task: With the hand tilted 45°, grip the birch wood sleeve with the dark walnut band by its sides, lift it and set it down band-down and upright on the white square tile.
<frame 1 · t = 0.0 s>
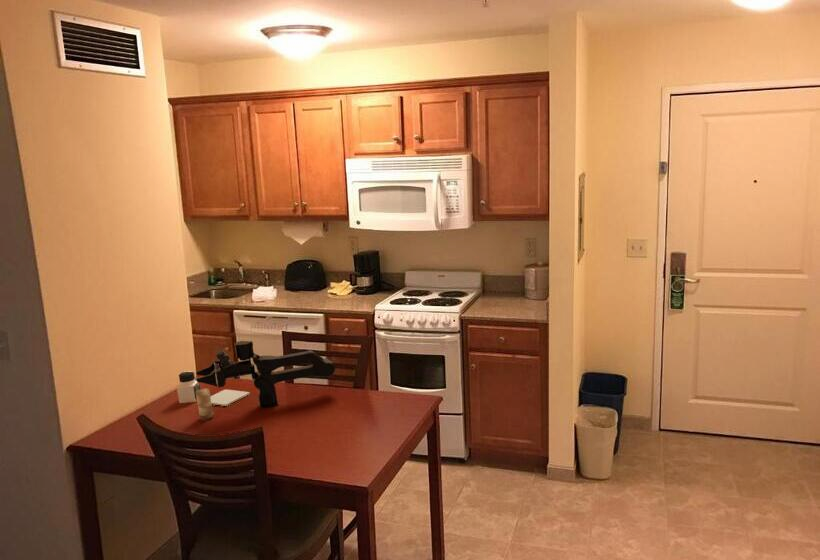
hand: (196, 376, 254), 17 cm above the table, tool horizontal, fingers open, 9 cm apart
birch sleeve: (206, 417, 256), on the table
white square tile: (225, 399, 275), on the table
medicine bottle: (190, 400, 279), on the table
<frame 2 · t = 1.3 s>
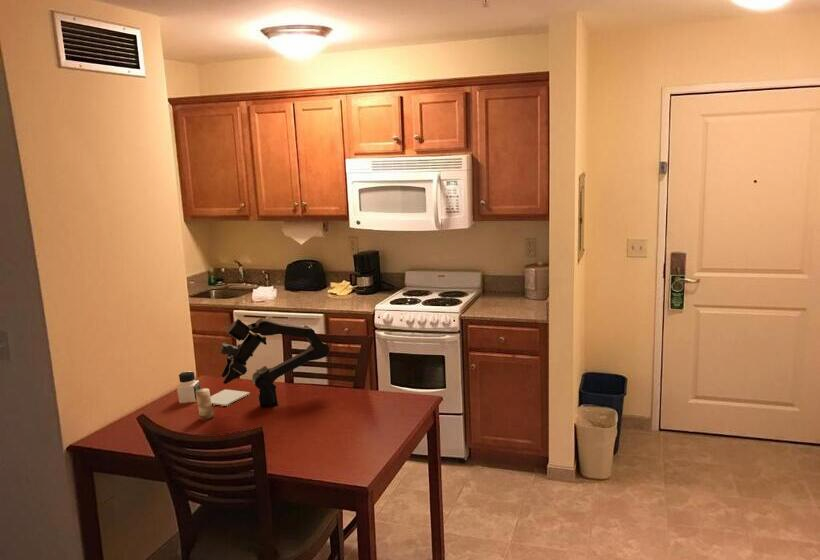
hand: (223, 380, 256), 14 cm above the table, tool tilted 45°, fingers open, 9 cm apart
nothing on the table moved.
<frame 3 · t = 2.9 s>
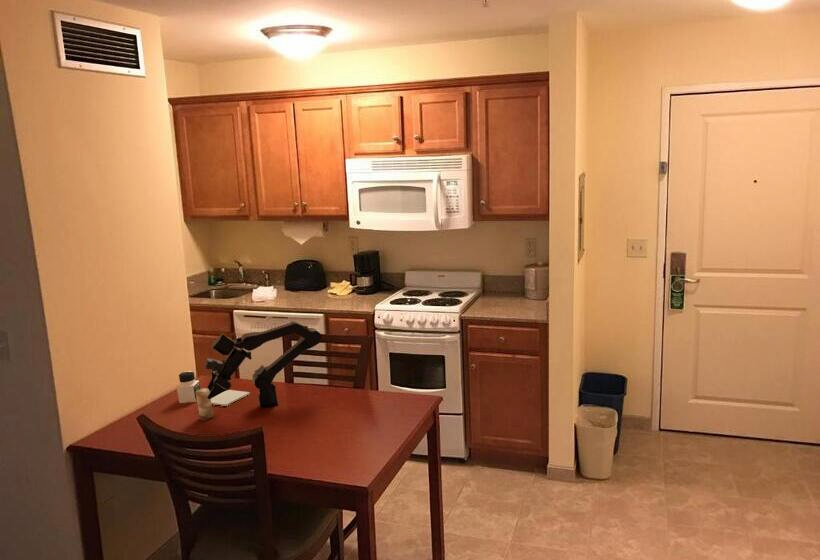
hand: (207, 395, 255), 9 cm above the table, tool tilted 45°, fingers open, 9 cm apart
nothing on the table moved.
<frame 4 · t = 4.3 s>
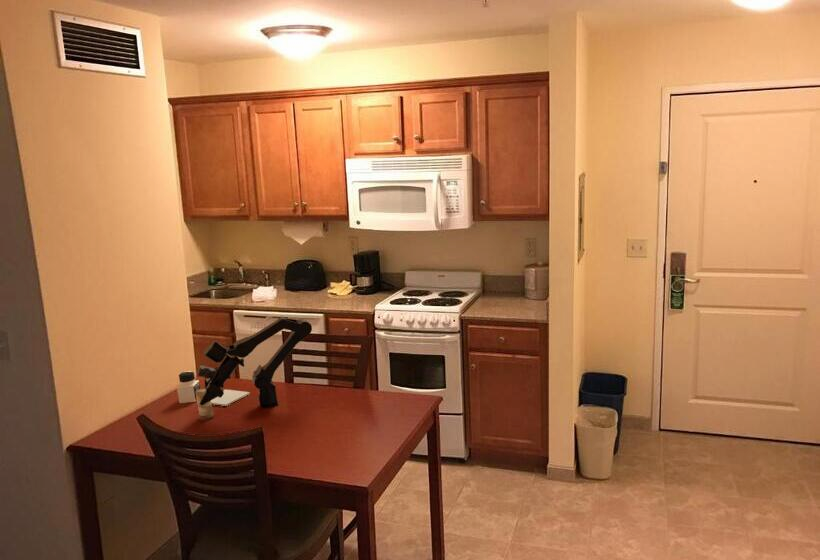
hand: (200, 402, 254), 7 cm above the table, tool tilted 45°, fingers closed on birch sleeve, 5 cm apart
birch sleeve: (206, 417, 256), on the table, touching gripper
everything else where it was.
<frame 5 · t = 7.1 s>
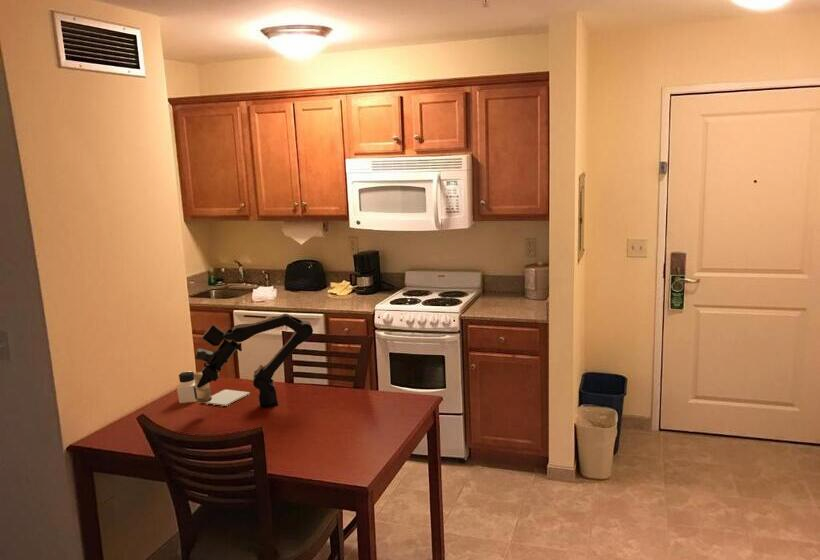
hand: (198, 384, 257), 12 cm above the table, tool tilted 45°, fingers closed on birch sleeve, 5 cm apart
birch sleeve: (204, 400, 258), point 6 cm above the table, touching gripper
everything else where it was.
when the fingers open (9 cm above the table, at t = 9.7 s): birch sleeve drops 1 cm, resting on white square tile.
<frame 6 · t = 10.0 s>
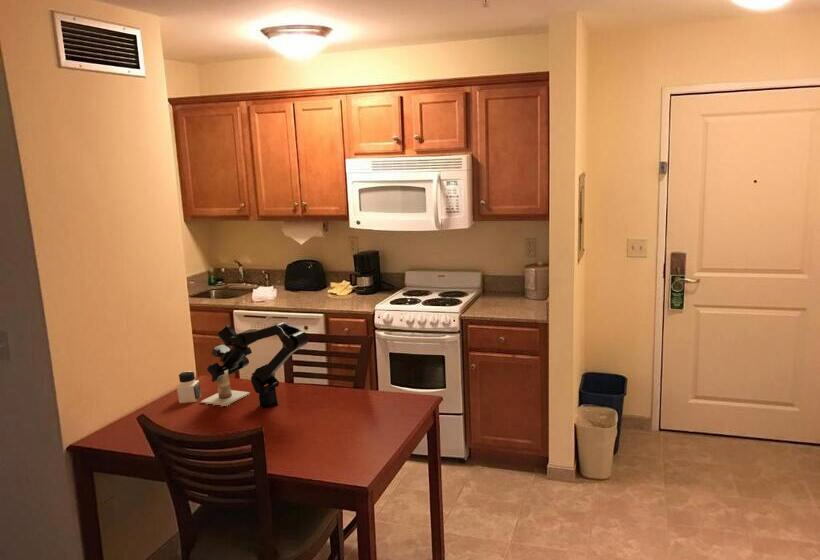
hand: (220, 377, 274), 9 cm above the table, tool tilted 45°, fingers open, 8 cm apart
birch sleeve: (225, 396, 275), point 1 cm above the table, touching white square tile
everything else where it was.
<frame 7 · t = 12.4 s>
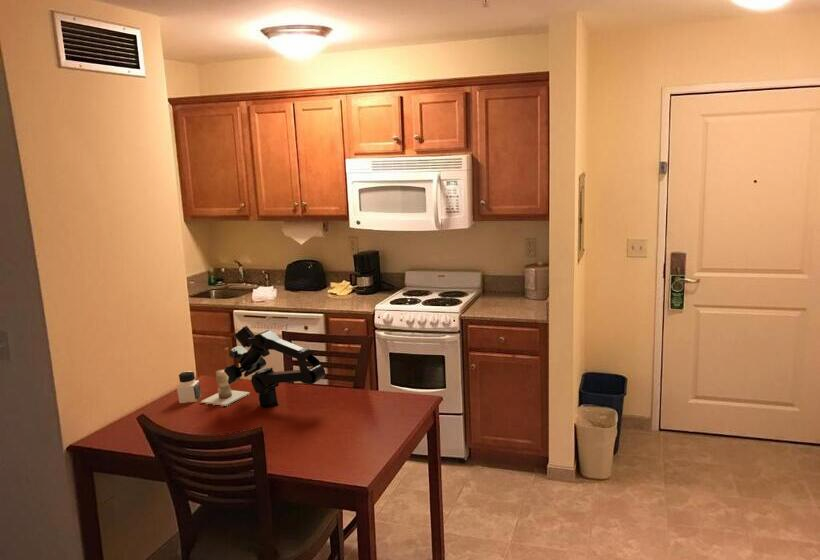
hand: (237, 379, 270), 9 cm above the table, tool tilted 45°, fingers open, 9 cm apart
nothing on the table moved.
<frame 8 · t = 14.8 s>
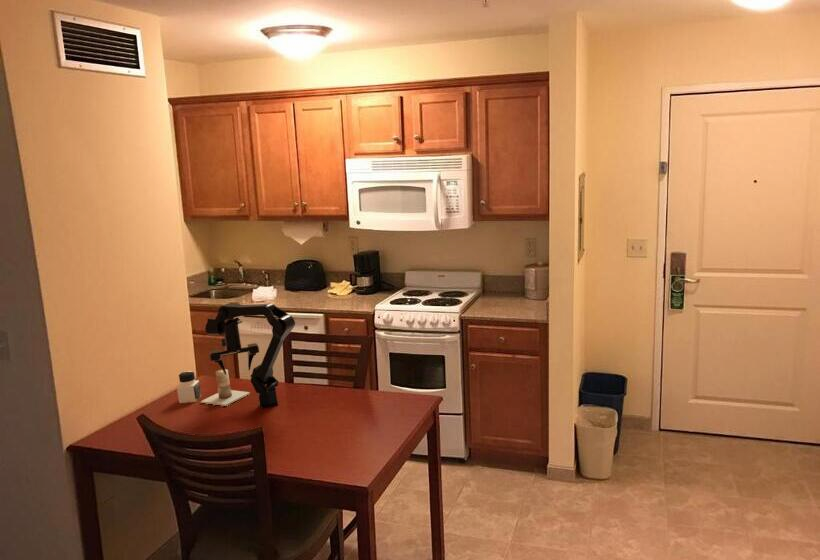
hand: (237, 372, 266), 13 cm above the table, tool pointing down, fingers open, 9 cm apart
nothing on the table moved.
at the end: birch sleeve inside the target area on the white square tile (0.0 cm from its centre), point 1.0 cm above the white square tile's base; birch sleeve tilted 0°; the gripper is holding nothing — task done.
